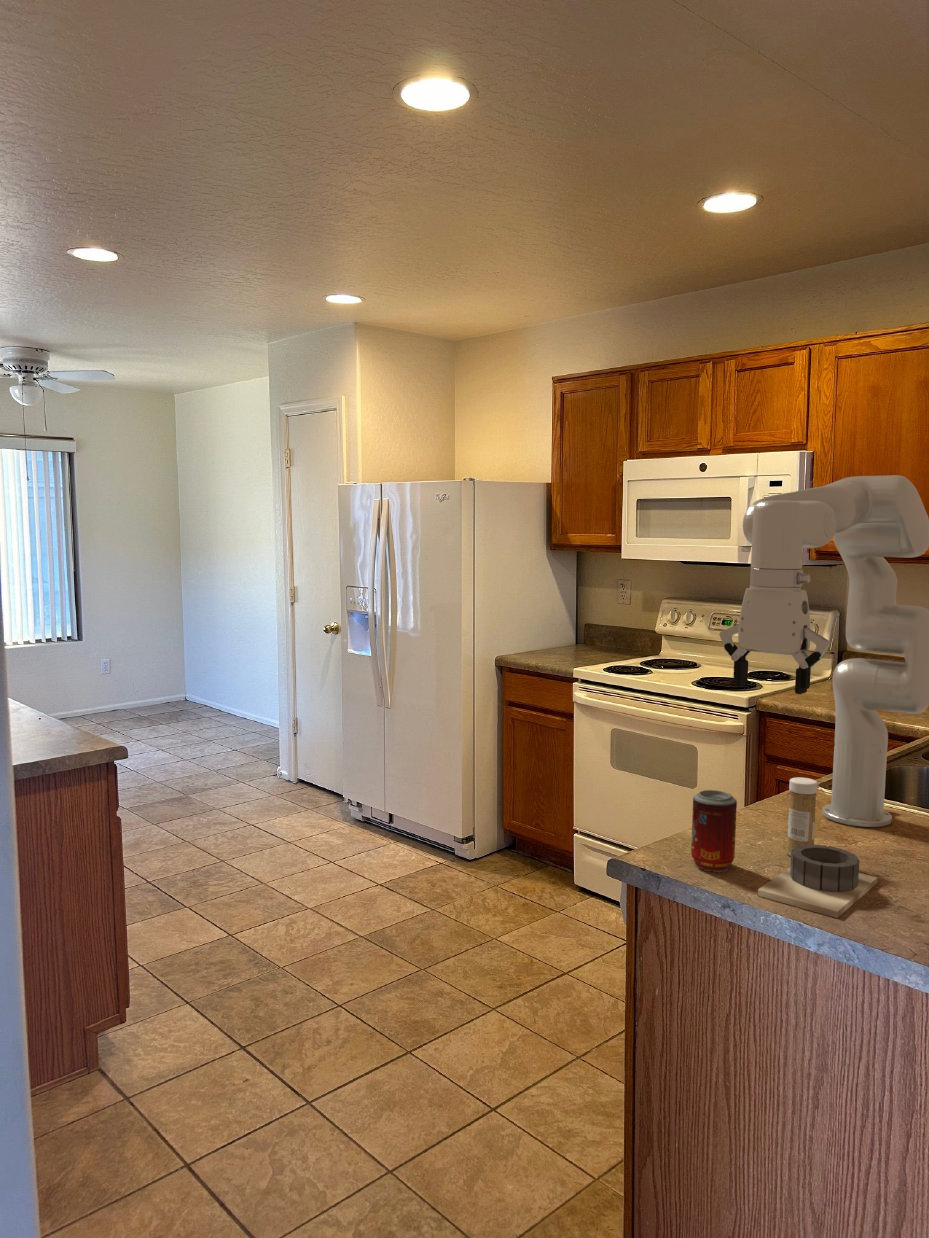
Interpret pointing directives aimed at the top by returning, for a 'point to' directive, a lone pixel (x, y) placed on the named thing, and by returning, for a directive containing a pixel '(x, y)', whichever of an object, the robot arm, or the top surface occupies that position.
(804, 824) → the sprinkles bottle
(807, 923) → the top surface
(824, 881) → the collar stand
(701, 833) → the soda can
